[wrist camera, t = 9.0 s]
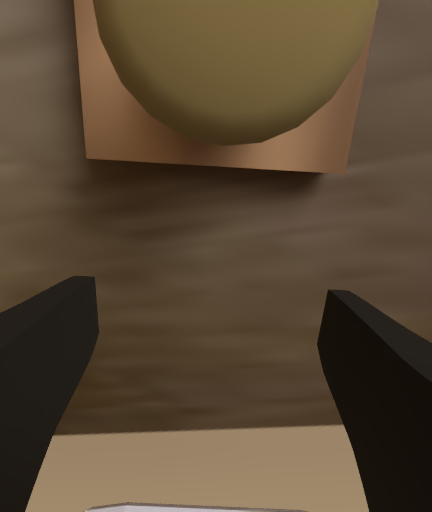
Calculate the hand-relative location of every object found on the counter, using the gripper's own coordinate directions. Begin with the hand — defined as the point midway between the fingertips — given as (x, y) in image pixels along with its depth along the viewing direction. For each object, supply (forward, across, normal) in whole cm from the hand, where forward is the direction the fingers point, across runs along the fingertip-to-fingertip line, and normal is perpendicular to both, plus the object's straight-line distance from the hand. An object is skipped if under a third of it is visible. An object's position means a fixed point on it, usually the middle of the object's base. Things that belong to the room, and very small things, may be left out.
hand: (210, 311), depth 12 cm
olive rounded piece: (+8, 0, -8) cm, 11 cm away
